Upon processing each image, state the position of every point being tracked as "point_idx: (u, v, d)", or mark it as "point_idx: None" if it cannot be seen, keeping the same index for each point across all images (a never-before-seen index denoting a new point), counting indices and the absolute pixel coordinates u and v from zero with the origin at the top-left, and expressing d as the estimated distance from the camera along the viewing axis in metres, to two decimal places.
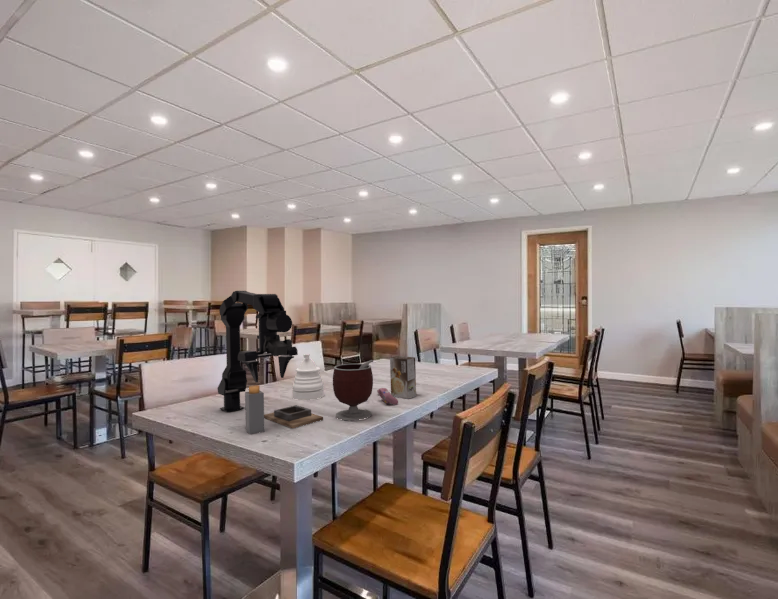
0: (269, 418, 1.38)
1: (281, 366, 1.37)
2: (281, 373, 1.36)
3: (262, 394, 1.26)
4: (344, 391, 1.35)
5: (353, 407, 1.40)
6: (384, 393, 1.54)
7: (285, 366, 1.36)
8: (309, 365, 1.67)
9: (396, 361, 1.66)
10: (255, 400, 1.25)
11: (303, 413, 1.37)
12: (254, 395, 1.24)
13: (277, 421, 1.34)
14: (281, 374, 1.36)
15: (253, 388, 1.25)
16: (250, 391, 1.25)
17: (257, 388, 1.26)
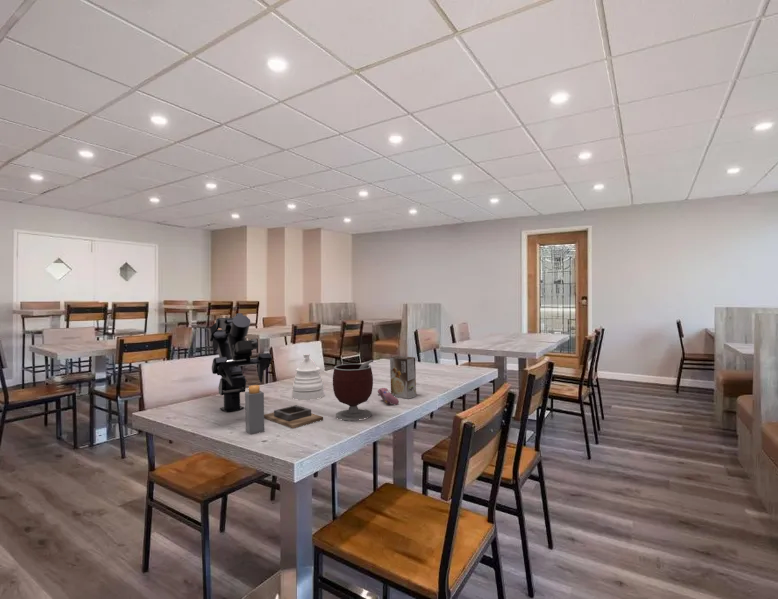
0: (269, 418, 1.38)
1: (259, 373, 1.38)
2: (259, 378, 1.37)
3: (262, 394, 1.26)
4: (344, 391, 1.35)
5: (353, 407, 1.40)
6: (385, 393, 1.54)
7: (261, 370, 1.38)
8: (309, 365, 1.67)
9: (396, 361, 1.66)
10: (255, 400, 1.25)
11: (303, 413, 1.37)
12: (254, 395, 1.24)
13: (277, 421, 1.34)
14: (260, 379, 1.37)
15: (253, 388, 1.25)
16: (250, 391, 1.25)
17: (257, 388, 1.26)
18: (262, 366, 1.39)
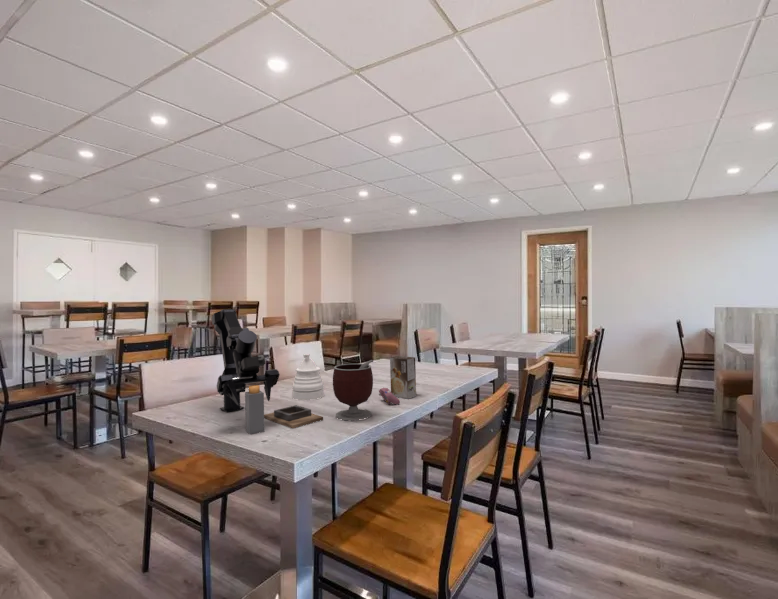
0: (269, 418, 1.38)
1: (266, 391, 1.32)
2: (267, 396, 1.30)
3: (262, 394, 1.26)
4: (344, 391, 1.35)
5: (353, 407, 1.40)
6: (386, 393, 1.54)
7: (269, 387, 1.31)
8: (309, 365, 1.67)
9: (396, 361, 1.66)
10: (255, 400, 1.25)
11: (303, 413, 1.37)
12: (254, 395, 1.24)
13: (277, 421, 1.34)
14: (267, 397, 1.30)
15: (253, 388, 1.25)
16: (250, 391, 1.25)
17: (257, 388, 1.26)
18: (269, 383, 1.32)
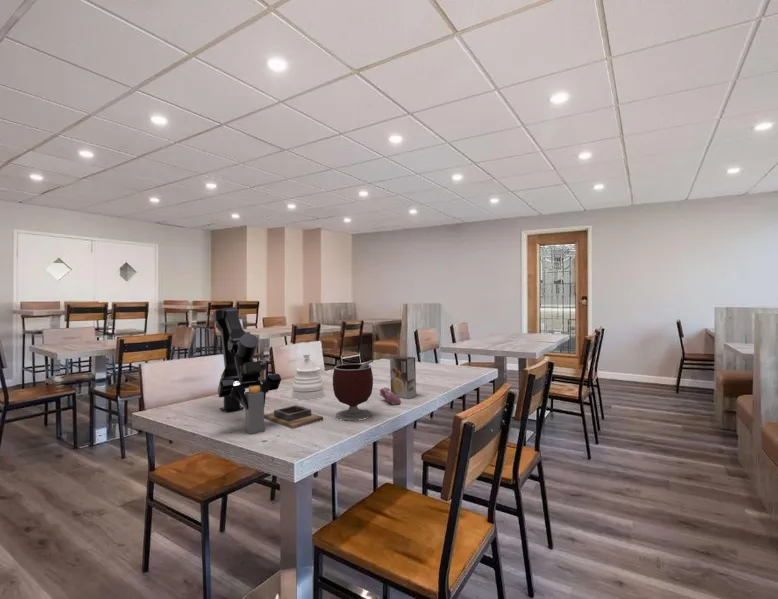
0: (269, 418, 1.38)
1: None
2: None
3: (262, 394, 1.26)
4: (344, 391, 1.35)
5: (353, 407, 1.40)
6: (387, 393, 1.55)
7: None
8: (309, 365, 1.67)
9: (396, 361, 1.66)
10: (255, 400, 1.25)
11: (303, 413, 1.37)
12: (254, 395, 1.24)
13: (277, 421, 1.34)
14: None
15: (253, 388, 1.25)
16: (250, 391, 1.25)
17: (257, 388, 1.26)
18: (264, 389, 1.30)
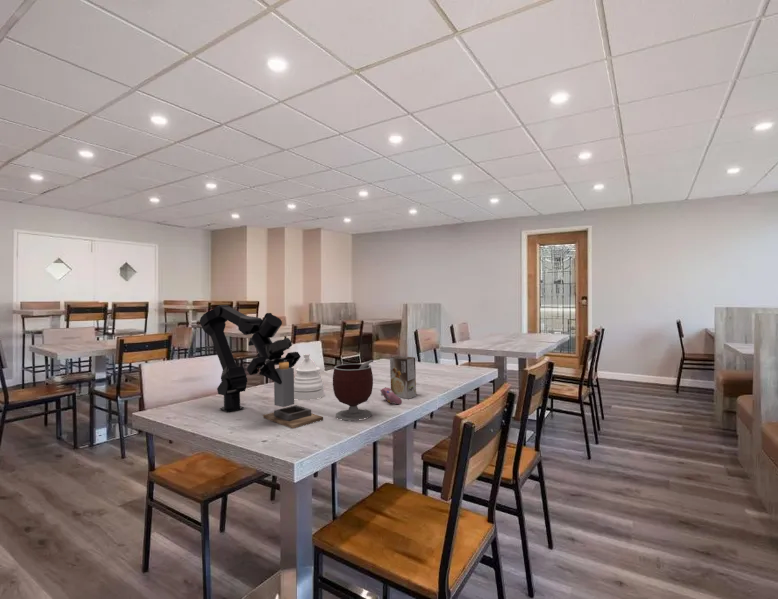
0: (269, 418, 1.38)
1: None
2: None
3: (292, 369, 1.35)
4: (344, 391, 1.35)
5: (353, 407, 1.40)
6: (388, 393, 1.55)
7: None
8: (309, 365, 1.67)
9: (396, 361, 1.66)
10: (287, 375, 1.34)
11: (303, 413, 1.37)
12: (286, 370, 1.33)
13: (277, 421, 1.34)
14: None
15: (285, 364, 1.34)
16: (282, 367, 1.34)
17: (288, 364, 1.35)
18: (289, 365, 1.39)
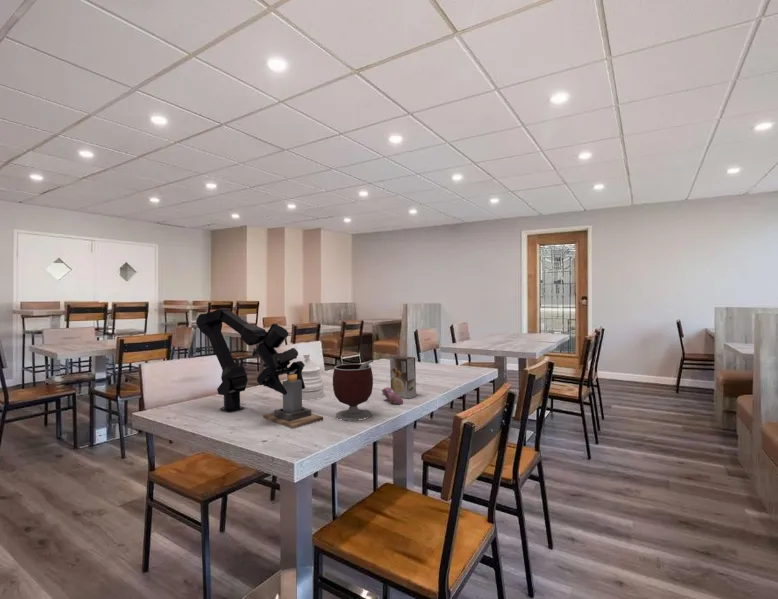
0: (269, 418, 1.38)
1: None
2: None
3: (300, 381, 1.40)
4: (344, 391, 1.35)
5: (353, 407, 1.40)
6: (389, 392, 1.55)
7: (301, 377, 1.44)
8: (309, 365, 1.67)
9: (396, 361, 1.66)
10: (296, 386, 1.38)
11: (303, 413, 1.37)
12: (296, 382, 1.37)
13: (277, 421, 1.34)
14: None
15: (294, 376, 1.38)
16: (291, 379, 1.37)
17: (296, 376, 1.39)
18: (300, 374, 1.45)
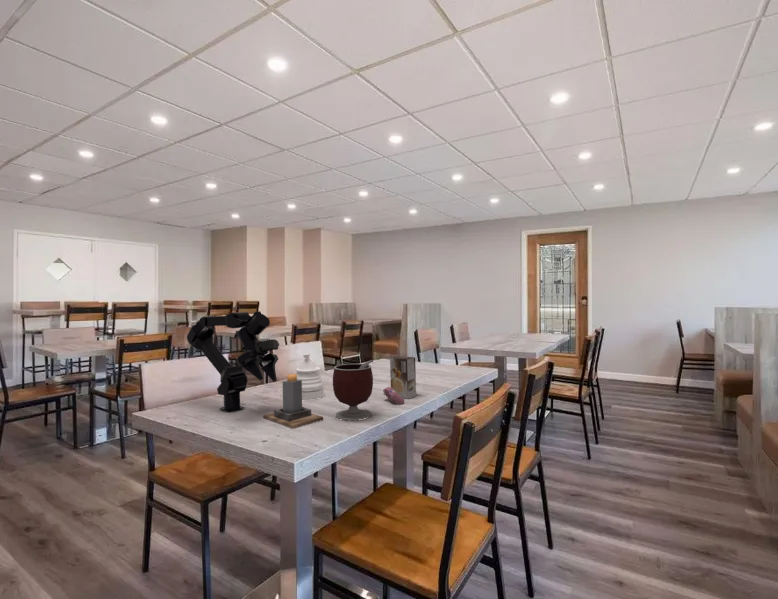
0: (269, 418, 1.38)
1: (269, 371, 1.48)
2: (272, 376, 1.47)
3: (300, 381, 1.40)
4: (344, 391, 1.35)
5: (353, 407, 1.40)
6: (390, 392, 1.55)
7: (274, 369, 1.48)
8: (309, 365, 1.67)
9: (396, 361, 1.66)
10: (296, 386, 1.38)
11: (303, 413, 1.37)
12: (296, 382, 1.37)
13: (277, 421, 1.34)
14: (273, 377, 1.47)
15: (294, 376, 1.38)
16: (291, 379, 1.37)
17: (296, 376, 1.39)
18: (273, 366, 1.49)
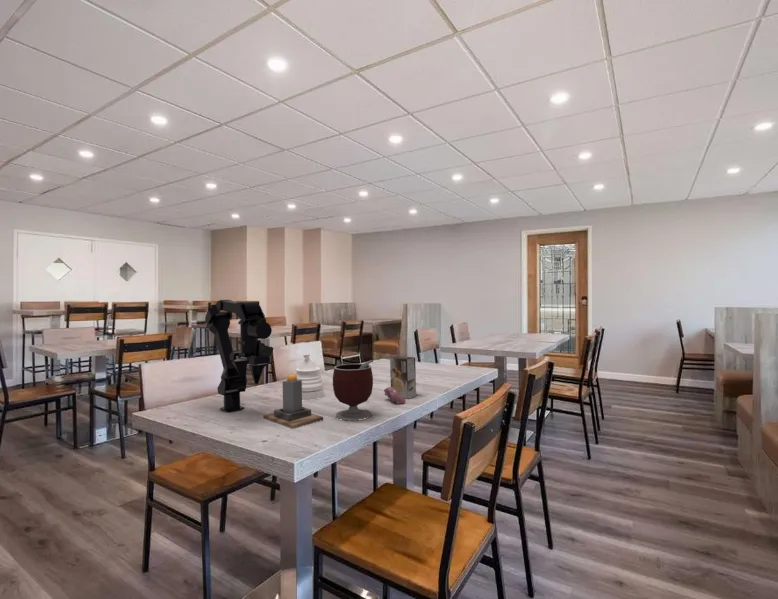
0: (269, 418, 1.38)
1: (242, 370, 1.46)
2: (243, 376, 1.46)
3: (300, 381, 1.40)
4: (344, 391, 1.35)
5: (353, 407, 1.40)
6: (391, 392, 1.56)
7: None
8: (309, 365, 1.67)
9: (396, 361, 1.66)
10: (296, 386, 1.38)
11: (303, 413, 1.37)
12: (296, 382, 1.37)
13: (277, 421, 1.34)
14: (243, 377, 1.46)
15: (294, 376, 1.38)
16: (291, 379, 1.37)
17: (296, 376, 1.39)
18: None
